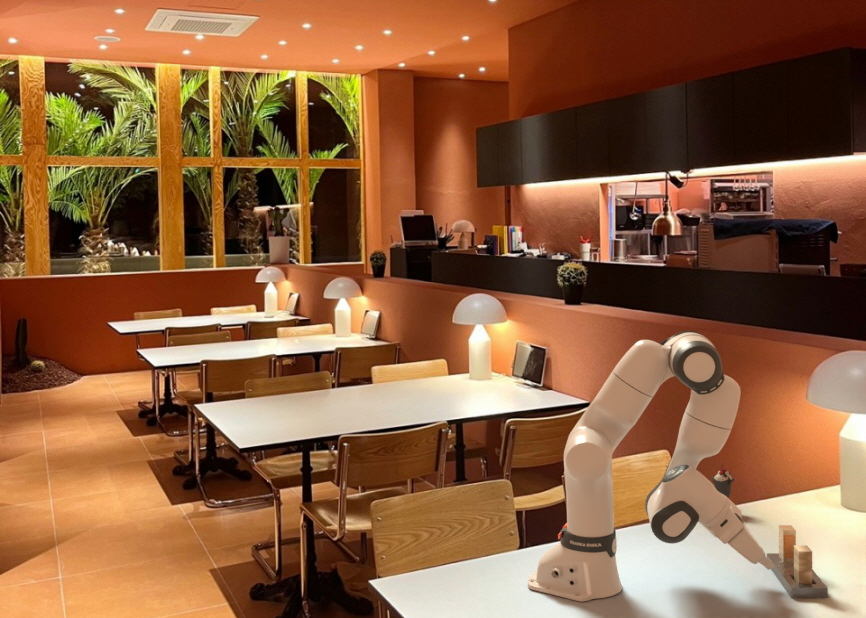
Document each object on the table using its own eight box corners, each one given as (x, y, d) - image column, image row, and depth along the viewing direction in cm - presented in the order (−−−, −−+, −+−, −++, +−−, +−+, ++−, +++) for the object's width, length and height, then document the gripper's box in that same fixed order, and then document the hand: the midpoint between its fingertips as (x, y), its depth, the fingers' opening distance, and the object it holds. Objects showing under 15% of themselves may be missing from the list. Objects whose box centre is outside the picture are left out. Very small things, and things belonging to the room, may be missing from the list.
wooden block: (798, 593, 206) (798, 551, 205) (793, 586, 210) (793, 545, 209) (812, 593, 206) (812, 551, 205) (807, 586, 210) (806, 545, 209)
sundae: (719, 515, 263) (719, 466, 262) (707, 509, 270) (706, 461, 268) (739, 513, 265) (738, 464, 264) (726, 507, 271) (725, 458, 270)
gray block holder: (791, 598, 203) (791, 553, 202) (766, 562, 225) (766, 522, 224) (827, 598, 202) (827, 553, 201) (799, 563, 224) (799, 522, 223)
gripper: (704, 513, 219) (746, 552, 219) (721, 542, 199) (766, 585, 199) (723, 496, 218) (764, 535, 218) (741, 523, 198) (787, 566, 198)
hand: (765, 559), depth 208 cm, fingers open, 8 cm apart
